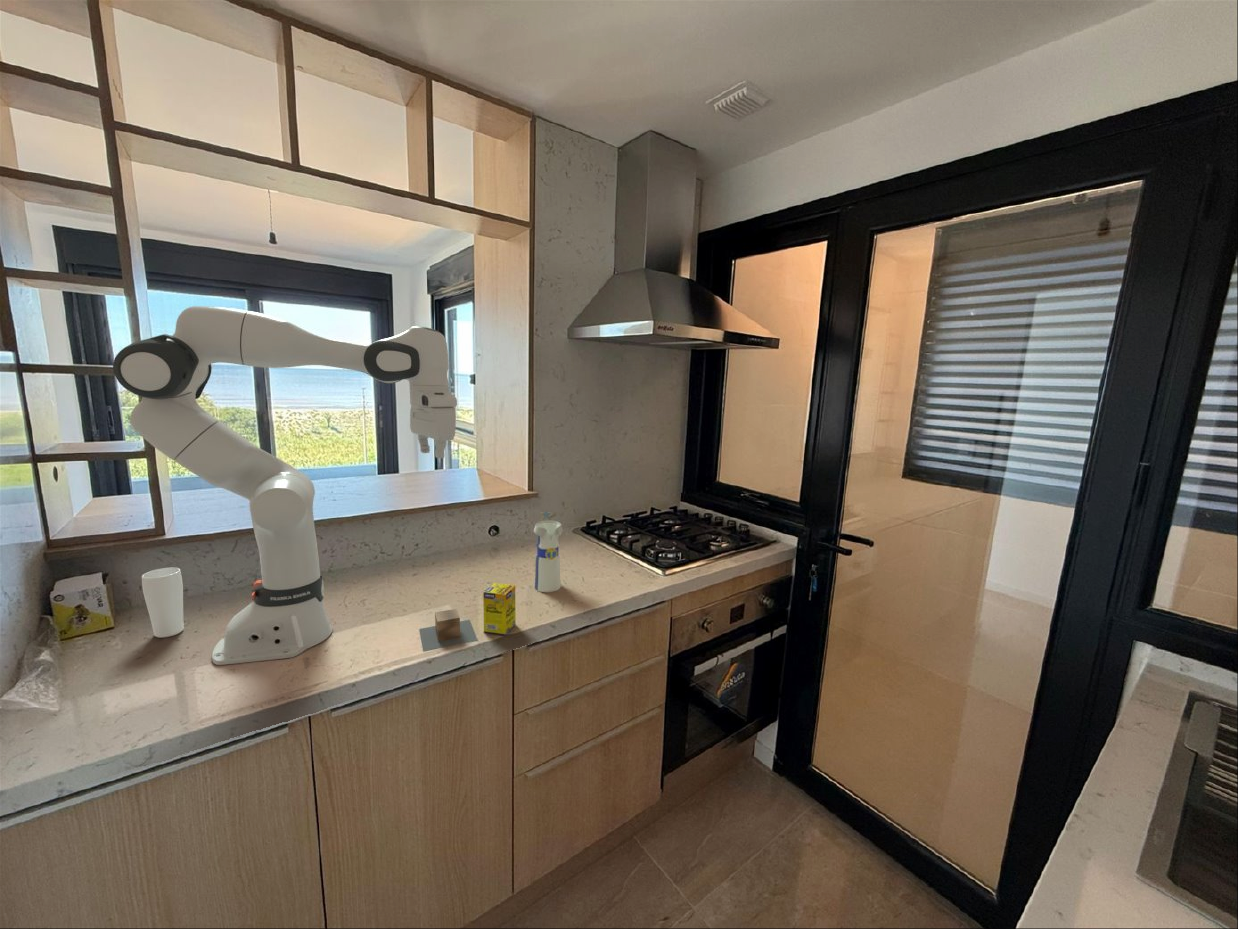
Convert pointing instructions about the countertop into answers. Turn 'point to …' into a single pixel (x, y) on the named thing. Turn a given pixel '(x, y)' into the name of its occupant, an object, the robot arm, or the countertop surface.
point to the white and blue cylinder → (547, 555)
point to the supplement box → (499, 609)
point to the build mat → (431, 640)
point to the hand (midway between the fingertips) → (432, 455)
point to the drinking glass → (164, 600)
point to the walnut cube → (447, 624)
